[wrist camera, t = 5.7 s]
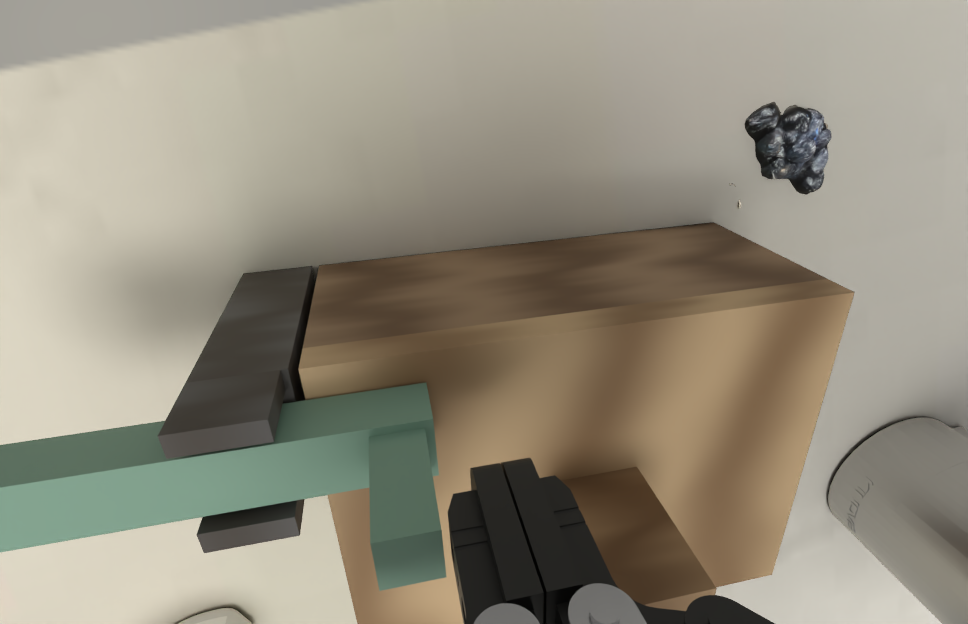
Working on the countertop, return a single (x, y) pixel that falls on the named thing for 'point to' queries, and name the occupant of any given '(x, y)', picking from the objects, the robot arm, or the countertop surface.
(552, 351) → the lid
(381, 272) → the wooden box
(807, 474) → the countertop surface
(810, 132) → the blueberries
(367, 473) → the green bar
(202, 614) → the eye dropper bottle
